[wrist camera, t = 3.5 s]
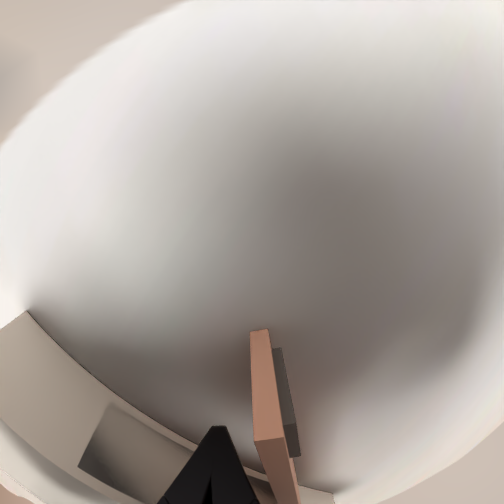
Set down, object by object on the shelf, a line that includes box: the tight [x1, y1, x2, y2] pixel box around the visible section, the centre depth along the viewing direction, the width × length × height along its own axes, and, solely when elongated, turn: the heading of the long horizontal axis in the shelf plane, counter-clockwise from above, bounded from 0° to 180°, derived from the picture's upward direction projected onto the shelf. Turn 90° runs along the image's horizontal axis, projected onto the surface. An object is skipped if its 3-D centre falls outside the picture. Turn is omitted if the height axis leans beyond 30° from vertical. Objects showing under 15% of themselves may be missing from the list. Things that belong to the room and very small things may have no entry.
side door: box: [250, 329, 301, 504], centre depth 8 cm, size 1×12×4 cm, turn 10°
